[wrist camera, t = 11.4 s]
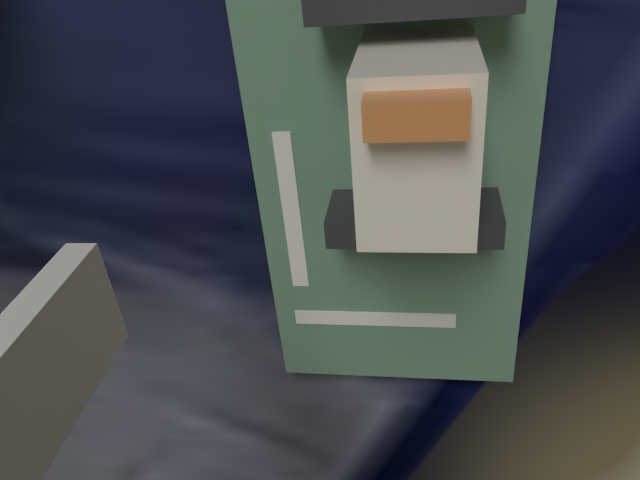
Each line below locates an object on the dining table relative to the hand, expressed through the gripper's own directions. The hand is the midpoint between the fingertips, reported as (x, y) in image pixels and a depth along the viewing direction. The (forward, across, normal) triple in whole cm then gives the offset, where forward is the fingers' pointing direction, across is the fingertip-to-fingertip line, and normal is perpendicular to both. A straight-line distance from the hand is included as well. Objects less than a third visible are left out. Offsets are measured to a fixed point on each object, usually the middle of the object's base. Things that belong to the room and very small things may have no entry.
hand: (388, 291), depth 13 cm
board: (+13, 0, -5) cm, 14 cm away
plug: (+12, +1, 0) cm, 12 cm away
